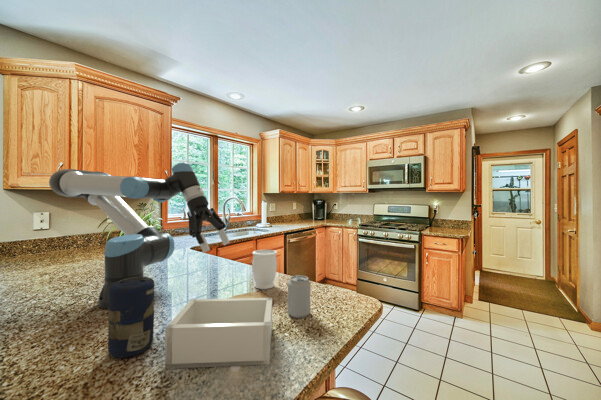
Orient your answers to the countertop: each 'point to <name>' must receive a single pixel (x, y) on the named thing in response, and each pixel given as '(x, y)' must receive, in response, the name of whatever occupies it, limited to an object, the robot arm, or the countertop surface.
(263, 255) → the jar
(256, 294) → the bread slice
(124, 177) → the robot arm
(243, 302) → the open box
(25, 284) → the countertop surface
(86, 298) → the countertop surface
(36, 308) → the countertop surface
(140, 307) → the canister
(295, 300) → the can
